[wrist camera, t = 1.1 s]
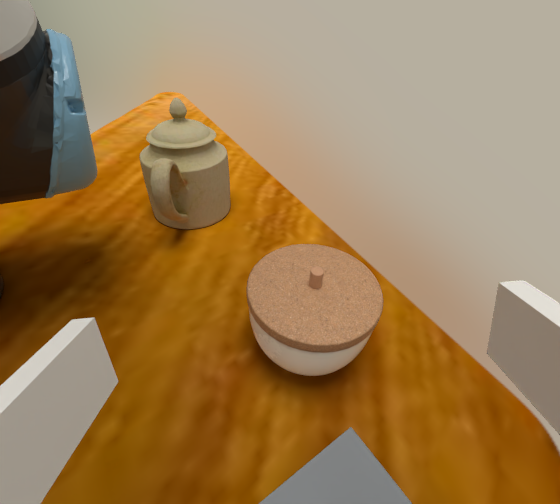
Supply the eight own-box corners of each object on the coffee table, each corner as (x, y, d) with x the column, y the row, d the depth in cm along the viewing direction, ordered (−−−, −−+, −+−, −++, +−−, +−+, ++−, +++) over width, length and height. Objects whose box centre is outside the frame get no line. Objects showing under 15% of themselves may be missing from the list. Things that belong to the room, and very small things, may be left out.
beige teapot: (251, 235, 42) (250, 119, 32) (166, 256, 38) (135, 131, 28) (218, 184, 52) (209, 83, 42) (147, 196, 48) (120, 88, 38)
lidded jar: (318, 427, 24) (339, 362, 18) (224, 345, 29) (215, 272, 23) (382, 339, 31) (413, 268, 25) (295, 283, 36) (304, 214, 30)
